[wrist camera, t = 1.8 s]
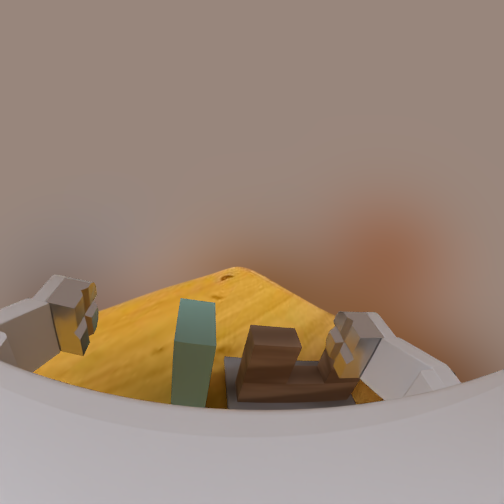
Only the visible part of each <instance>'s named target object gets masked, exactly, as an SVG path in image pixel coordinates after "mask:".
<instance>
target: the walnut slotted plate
mask: <svg viewBox="0 0 504 504" xmlns="http://www.w3.org/2000/svg"><path fill="white" fill-rule="evenodd" d="M301 348H302V346H301V343H300V341H299V338H298V336H297V333H296V330H295V328H282V327H270V326H258V325H250V329H249V333H248V337H247V341H246V344H245V348H244V352H243V355H242V358H236V357H225V358H224V366H225V380H226V393H227V405H228V409H237V410H293V409H313V408H327V407H339V406H348V405H356V404H355V401H354V399H353V397H352V395H351V393H352V391H353V390H354V388H355V387H356V385H357V383H358V382H359V380H360V378H339V377H338V375H337V372H336V370H335V368H334V366H333V364H334V362H335V361H334V360H333V359H332V358H330V357H329V355H328V353H327V350H326V348H325V350H324V352H323V354H322V356H321V359H320V361H296V360H297V358H298V356H299V353H300V351H301Z"/></svg>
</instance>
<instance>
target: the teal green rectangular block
mask: <svg viewBox="0 0 504 504" xmlns="http://www.w3.org/2000/svg"><path fill="white" fill-rule="evenodd" d="M215 350H216V321H215V303H212V302H204V301H197V300H190V299H182V298H181V300H180V306H179V312H178V319H177V325H176V332H175V339H174V352H173V369H172V392H171V404H173V405H181V406H191V407H202V408H205V405H206V399H207V394H208V388H209V383H210V377H211V372H212V366H213V361H214V356H215Z"/></svg>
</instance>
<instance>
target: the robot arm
mask: <svg viewBox="0 0 504 504" xmlns="http://www.w3.org/2000/svg"><path fill="white" fill-rule="evenodd" d="M96 295H97V292H96V285H95V284H94V282H89V281H84V280H80V279H74V278H70V277H66V276H60V275H53V276H52V277H51V278H50V279H49V280H48V281H47V282H46V283H45V284H44V286H43V287H42V288H41V289H40V290H39V291H38V292H37V294H36V295H35V296H34V297H33V298H32V299H30V298H27V299H24V300H22V301H20V302H17V303H15V304H12V305H9V306H7V307H4V308H2V309H0V504H504V369H503V370H500V371H497V372H495V373H492V374H489V375H486V376H483V377H480V378H477V379H474V380H471V381H467V382H464V383H461V382H460V381H459V379H458V378H457V377H456V376H455V374H454V373H453V372H452V370H451V369H450V368H449V367H448V365H446V364H444V363H443V362H441V361H439V360H437V359H436V358H434V357H432V356H431V355H429V354H427V353H425V352H424V351H422V350H420V349H418V348H416V347H415V346H413V345H411V344H409V343H408V342H406V341H404V340H403V339H401V338H396V336H395V335H394V334H393V333H392V331H391V330H390V329H389V327H388V326H387V325H386V324H385V322H384V321H383V320H382V318H381V317H380V316H379V315H378V314H377V313H375V312H338V314H337V315H336V317H335V319H334V324H335V327H334V328H333V329H332V330H330V331H329V334H328V336H327V339H326V350H327V353H328V355H329V357H330V358H332V359H333V360H334V361H335V362H334V364H333V366H334V368H335V370H336V372H337V375H338V377H339V378H360V379H361V380H362V381H363V382H364V383H365V384H366V385H367V386H369V387H370V388H371V389H372V390H373V391H374V392H375V393H377V394H378V395H379V396H380V397H381V398H382V399H383V400H385V401H379V402H372V403H365V404H357V405H348V406H339V407H327V408H313V409H293V410H237V409H216V408H202V407H191V406H181V405H173V404H165V403H158V402H151V401H144V400H138V399H133V398H127V397H122V396H117V395H112V394H107V393H103V392H98V391H94V390H90V389H86V388H82V387H78V386H74V385H71V384H67V383H64V382H60V381H57V380H53V379H50V378H47V377H44V376H41V375H38V374H35V373H32V372H34V371H35V370H37V369H38V368H39V367H41V366H42V365H43V364H45V363H46V362H47V361H49V360H50V359H52V358H53V357H54V356H56V355H57V354H59V353H60V351H63V352H67V353H72V354H76V355H81V356H84V354H85V351H86V349H87V347H88V345H89V343H90V341H89V336H90V335H92V334H94V332H95V330H96V327H97V322H98V306H97V304H96V303H95V302H94V298H95V297H96Z"/></svg>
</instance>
